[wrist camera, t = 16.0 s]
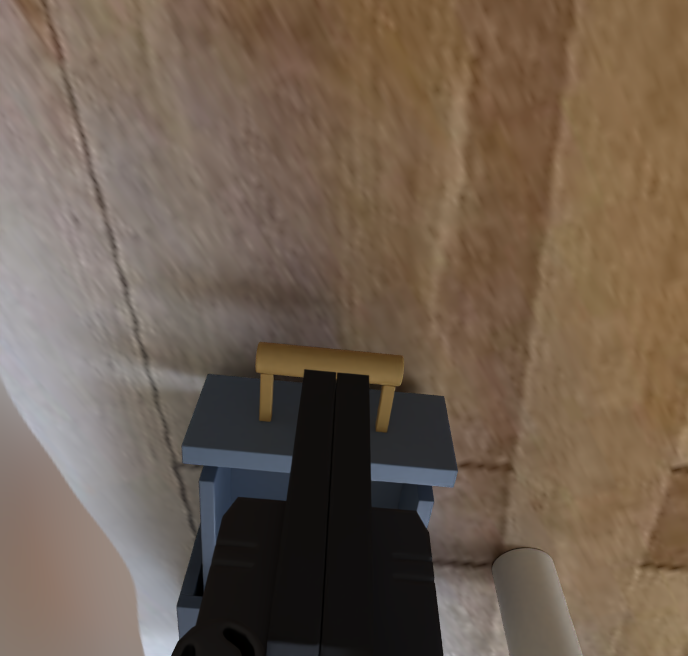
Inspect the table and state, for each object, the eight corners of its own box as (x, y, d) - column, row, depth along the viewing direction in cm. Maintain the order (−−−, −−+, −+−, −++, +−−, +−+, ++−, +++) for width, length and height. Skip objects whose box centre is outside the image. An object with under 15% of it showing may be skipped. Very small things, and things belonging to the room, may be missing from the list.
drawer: (205, 303, 31) (176, 369, 26) (460, 328, 31) (478, 397, 26) (212, 541, 41) (192, 621, 36) (405, 557, 41) (411, 639, 37)
